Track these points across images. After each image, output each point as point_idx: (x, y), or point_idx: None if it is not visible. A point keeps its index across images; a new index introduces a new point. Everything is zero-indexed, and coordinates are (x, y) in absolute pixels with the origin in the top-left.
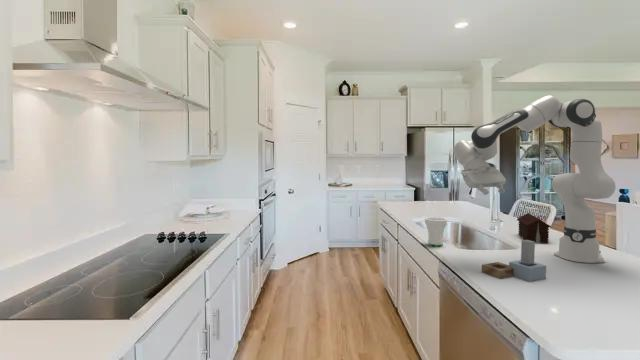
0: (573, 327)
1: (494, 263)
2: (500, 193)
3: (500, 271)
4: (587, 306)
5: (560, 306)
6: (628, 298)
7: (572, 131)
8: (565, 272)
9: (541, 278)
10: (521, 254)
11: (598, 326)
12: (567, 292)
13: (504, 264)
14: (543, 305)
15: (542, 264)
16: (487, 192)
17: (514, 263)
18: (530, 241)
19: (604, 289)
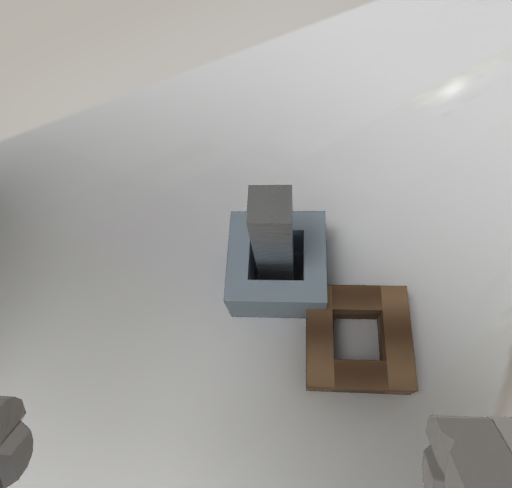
0: (492, 31)
1: (344, 375)
2: (31, 448)
3: (406, 288)
4: (351, 76)
5: (417, 94)
6: (206, 72)
7: None
8: (112, 245)
9: None
10: (292, 253)
11: (434, 21)
12: (303, 139)
13: (313, 342)
14: (455, 110)
15: (231, 224)
16: (469, 417)
17: (323, 278)
18: (267, 194)
19: (186, 119)
